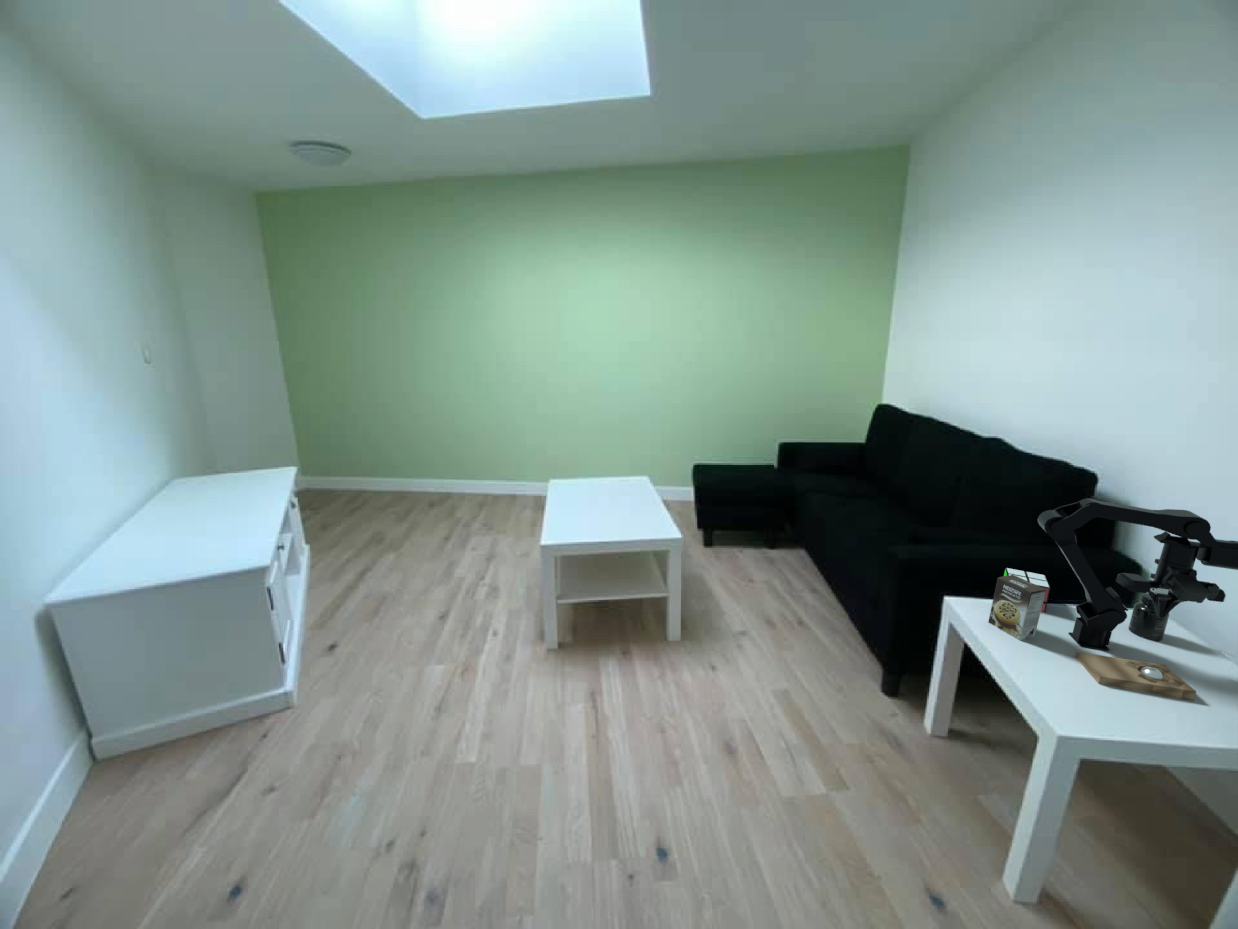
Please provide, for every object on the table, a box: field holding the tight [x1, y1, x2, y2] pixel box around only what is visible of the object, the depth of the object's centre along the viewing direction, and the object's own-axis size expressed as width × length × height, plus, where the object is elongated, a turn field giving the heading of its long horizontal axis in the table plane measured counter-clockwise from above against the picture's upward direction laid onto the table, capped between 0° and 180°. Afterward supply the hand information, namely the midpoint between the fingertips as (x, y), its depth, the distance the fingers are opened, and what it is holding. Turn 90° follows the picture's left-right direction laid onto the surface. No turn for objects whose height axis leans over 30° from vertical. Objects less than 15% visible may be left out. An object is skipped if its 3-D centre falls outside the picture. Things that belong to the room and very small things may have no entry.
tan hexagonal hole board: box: [1075, 651, 1197, 701], centre depth 122 cm, size 18×10×2 cm, turn 73°
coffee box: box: [988, 575, 1046, 641], centre depth 139 cm, size 9×6×16 cm
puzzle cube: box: [1003, 567, 1052, 614], centre depth 154 cm, size 10×10×10 cm
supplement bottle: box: [1128, 593, 1170, 642], centre depth 138 cm, size 7×7×12 cm
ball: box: [1140, 667, 1164, 681], centre depth 121 cm, size 4×4×4 cm
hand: (1159, 616), depth 128 cm, fingers closed
